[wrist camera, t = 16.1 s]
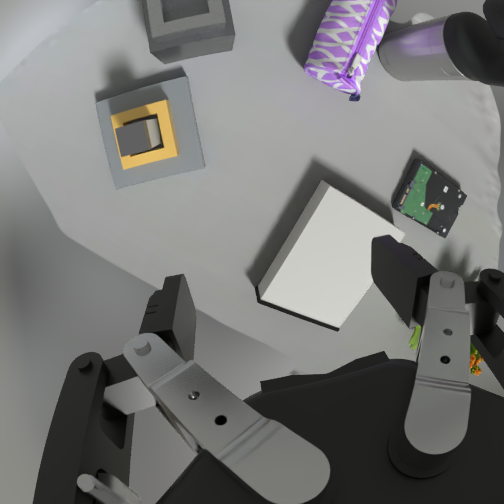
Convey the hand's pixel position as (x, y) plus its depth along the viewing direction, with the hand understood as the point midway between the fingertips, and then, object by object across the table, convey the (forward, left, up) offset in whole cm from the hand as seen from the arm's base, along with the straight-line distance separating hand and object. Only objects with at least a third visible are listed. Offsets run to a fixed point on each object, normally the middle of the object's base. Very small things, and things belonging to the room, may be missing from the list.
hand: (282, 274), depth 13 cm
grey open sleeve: (+3, -21, -36) cm, 42 cm away
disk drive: (-35, +13, -37) cm, 52 cm away
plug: (+12, -6, -34) cm, 37 cm away
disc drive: (-13, +20, -37) cm, 44 cm away
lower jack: (+12, -6, -36) cm, 39 cm away
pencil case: (-20, -18, -36) cm, 45 cm away
